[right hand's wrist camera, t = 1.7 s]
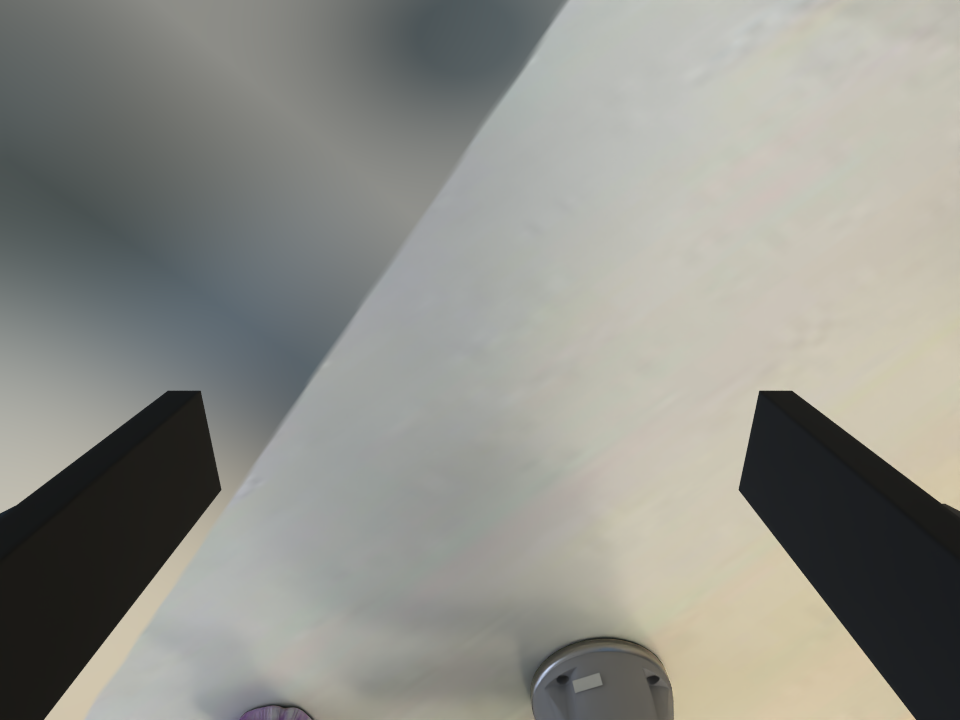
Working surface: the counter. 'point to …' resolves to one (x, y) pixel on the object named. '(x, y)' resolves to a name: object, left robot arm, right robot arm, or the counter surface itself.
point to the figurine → (275, 714)
